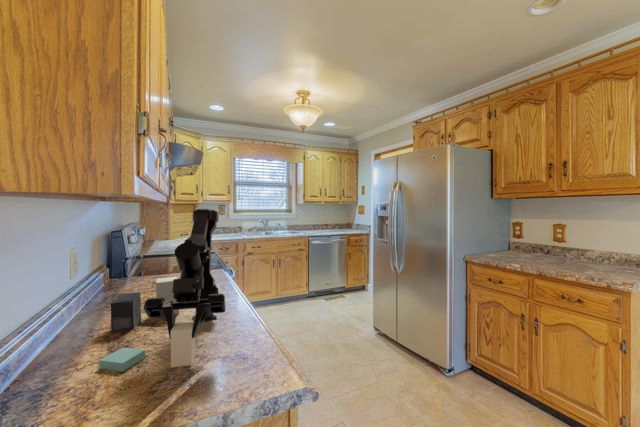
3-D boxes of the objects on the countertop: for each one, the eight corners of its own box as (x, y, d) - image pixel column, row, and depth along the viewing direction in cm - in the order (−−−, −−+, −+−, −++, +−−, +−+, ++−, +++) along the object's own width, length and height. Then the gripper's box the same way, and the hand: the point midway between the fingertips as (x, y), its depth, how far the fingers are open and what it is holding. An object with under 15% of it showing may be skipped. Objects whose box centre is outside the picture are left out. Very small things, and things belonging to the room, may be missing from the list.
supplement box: (178, 308, 115) (177, 276, 115) (179, 314, 109) (178, 280, 108) (156, 311, 112) (156, 278, 111) (156, 317, 105) (155, 282, 105)
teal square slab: (123, 355, 75) (123, 347, 75) (145, 357, 74) (145, 349, 74) (99, 368, 69) (99, 360, 69) (122, 371, 68) (122, 363, 68)
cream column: (175, 363, 74) (175, 323, 74) (195, 361, 75) (194, 322, 75) (171, 373, 69) (170, 330, 69) (191, 370, 70) (191, 329, 70)
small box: (119, 324, 99) (119, 293, 99) (141, 321, 102) (141, 291, 101) (109, 337, 89) (109, 302, 89) (134, 333, 92) (134, 300, 92)
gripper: (145, 266, 73) (128, 327, 63) (224, 263, 78) (220, 320, 67) (156, 289, 81) (141, 347, 71) (227, 285, 85) (223, 339, 75)
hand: (181, 338), depth 71 cm, fingers closed on cream column, 4 cm apart
